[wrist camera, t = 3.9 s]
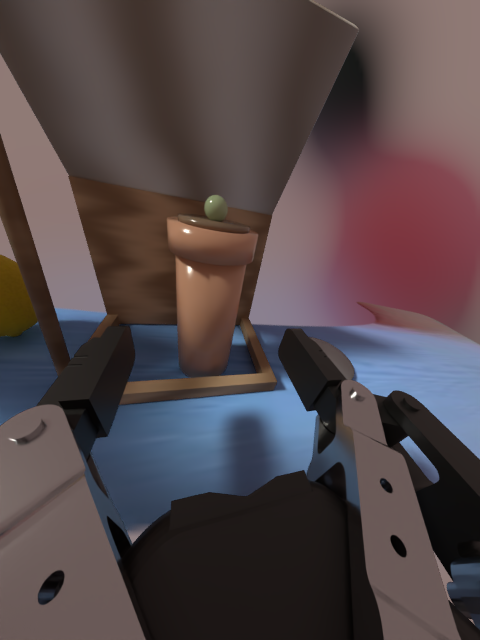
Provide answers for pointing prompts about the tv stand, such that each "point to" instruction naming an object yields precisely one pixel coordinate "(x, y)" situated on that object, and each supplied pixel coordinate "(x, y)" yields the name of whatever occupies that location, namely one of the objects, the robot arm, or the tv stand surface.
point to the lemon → (14, 300)
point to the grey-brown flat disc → (337, 358)
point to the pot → (208, 284)
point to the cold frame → (165, 140)
